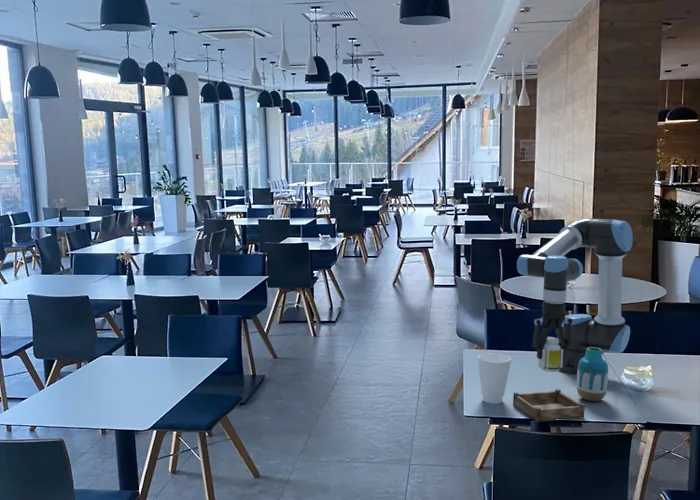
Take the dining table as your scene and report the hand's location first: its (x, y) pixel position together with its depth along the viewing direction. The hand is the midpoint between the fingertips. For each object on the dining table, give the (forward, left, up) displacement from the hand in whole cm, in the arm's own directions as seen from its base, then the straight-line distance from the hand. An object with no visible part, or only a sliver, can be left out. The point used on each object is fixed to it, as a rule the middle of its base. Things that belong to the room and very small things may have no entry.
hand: (550, 367), depth 230 cm
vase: (-22, -7, -16) cm, 28 cm away
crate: (0, 0, -16) cm, 16 cm away
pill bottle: (0, 0, -1) cm, 1 cm away
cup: (+14, -14, -16) cm, 26 cm away
